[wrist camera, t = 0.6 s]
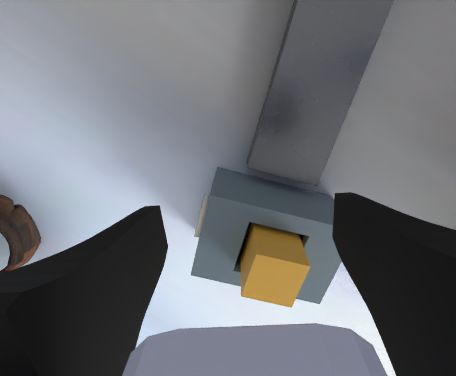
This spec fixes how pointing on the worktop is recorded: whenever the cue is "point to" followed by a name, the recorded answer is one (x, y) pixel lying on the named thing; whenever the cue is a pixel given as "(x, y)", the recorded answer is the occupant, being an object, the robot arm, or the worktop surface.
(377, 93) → the worktop surface
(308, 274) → the blue grey control box
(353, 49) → the rail
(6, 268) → the pottery mug
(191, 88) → the worktop surface
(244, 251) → the button
